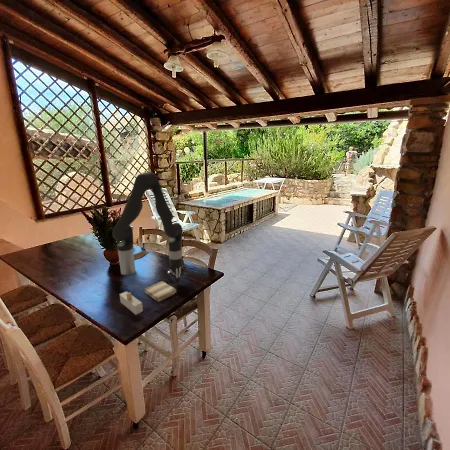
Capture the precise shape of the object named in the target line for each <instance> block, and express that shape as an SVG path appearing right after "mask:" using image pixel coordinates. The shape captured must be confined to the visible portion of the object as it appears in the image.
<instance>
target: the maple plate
mask: <svg viewBox="0 0 450 450" xmlns="http://www.w3.org/2000/svg"><path fill="white" fill-rule="evenodd" d="M144 293H145V294H146V295H148V296H149V297H151V298H152V299H154V300H155V301H156V302H157V303H160V302H162V301H163V300H166V299H168V298H170V297H172V296H173V295H175V293H176V294H177V289H176V288H175V287H173V286H171V285H169V284H167V283H166V282H165V281H162V280H161V281H159V282H157V283H155V284H152V285H150V286H148V287H146V288H144Z"/></svg>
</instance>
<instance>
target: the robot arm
mask: <svg viewBox="0 0 450 450" xmlns="http://www.w3.org/2000/svg"><path fill="white" fill-rule="evenodd" d="M148 190H151V192H152V194H153V196H154V204H155V209H156V210H155V211H156V213H157V215H158V216H159V218H160V220H161V223H162V227H163V231H164V233H165V235H166V236H167V237H168V238H170V240H169V241H168V259H169V266H170V267H169V270H167V271H166V273H167V274H168V276H170V277H171V278H173V279H174V283H176V284H179V283H180V282H181V281H180V280H181V276H183V273H184V271H185V270H186V266H185V265H184V264H183V252H182V243H181V242H182V240H183V239H182V237H183V226H182V225H181V224H180V223H178V222H174V223H173V221H172V220H173V219H174V214H173V213H172V211H171V208H170V207H169V204H168V203H167V201H166V199H165V195H164V193H163V190H162V187H161V184H160V182H159V179H158V177H157V175H156V174H155V173H154V172H152V171H148V172H147V171H146V172H141V173H139V174H137V176H136V177H135V179H134V182H133V186H132V190H131V192H130V194H129V197H128V199H127V202H126V204H125V206H124V208H123V211H122V213H121V215H120V217H119V219H118V221H117V223H116V224H115V226H114V227H113V230H112V237H113V239H114V240H115V241H119V244H117V253H118V258H119V259H118V260H119V261H118V262H119V266H120V274H121V275H123V276H131V275H133V274H135V273H136V264H135V263H136V262H135V259H134V255H135V253H134V234H133V233H134V232H133V228H132V226H131V224H132V223H134V221H136V219H138V217H139V216H140V214H141V213H142V212H141V211H142V210H143V206H144V204H143V196H144V194H145V192H146V191H148Z"/></svg>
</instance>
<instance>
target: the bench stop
mask: <svg viewBox="0 0 450 450" xmlns="http://www.w3.org/2000/svg"><path fill="white" fill-rule="evenodd" d="M119 299H120V300H119V301H120V303H121V304H122V305H123V306H124V307H125V308H127V309H128V310H129V311H130V312H131V313H133V314H134V315H135V316H137V315H139V314H140V313H143V311H144V309H143V302H142V301H140V300H139V299H137V298H136V297H135V296H134V295H132V292H128V291H124V292H122V293H119Z"/></svg>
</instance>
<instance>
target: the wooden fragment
mask: <svg viewBox="0 0 450 450" xmlns="http://www.w3.org/2000/svg"><path fill="white" fill-rule="evenodd" d="M147 254H149V251H139V252H137V253H134V260H137V259H142V258H143V257H144V256H146V255H147Z"/></svg>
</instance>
